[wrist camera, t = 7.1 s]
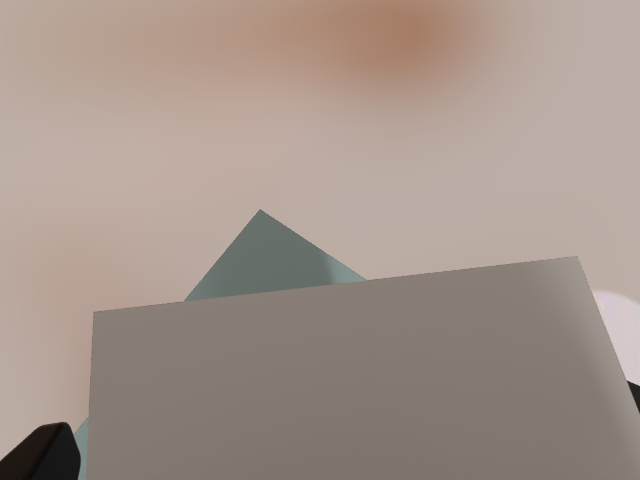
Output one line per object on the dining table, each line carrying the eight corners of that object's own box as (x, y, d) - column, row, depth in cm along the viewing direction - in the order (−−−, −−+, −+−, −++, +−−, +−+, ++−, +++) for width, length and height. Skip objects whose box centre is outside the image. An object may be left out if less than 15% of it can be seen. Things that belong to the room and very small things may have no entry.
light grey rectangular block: (380, 505, 14) (848, 944, 3) (233, 538, 13) (44, 1369, 2) (354, 356, 16) (577, 256, 4) (223, 376, 15) (93, 312, 4)
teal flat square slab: (509, 384, 17) (524, 383, 16) (352, 763, 12) (360, 796, 11) (260, 218, 18) (259, 208, 17) (29, 500, 14) (10, 509, 12)
